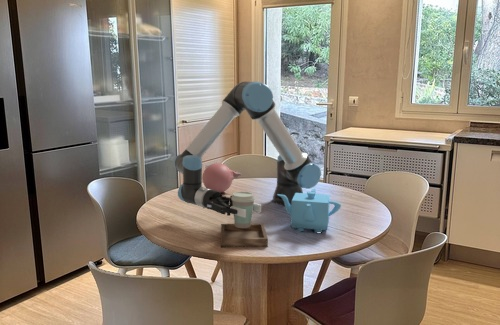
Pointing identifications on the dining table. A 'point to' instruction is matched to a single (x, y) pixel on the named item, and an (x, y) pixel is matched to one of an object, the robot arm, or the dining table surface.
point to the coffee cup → (244, 202)
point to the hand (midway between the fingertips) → (253, 211)
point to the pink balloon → (219, 177)
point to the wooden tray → (243, 236)
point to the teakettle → (310, 210)
